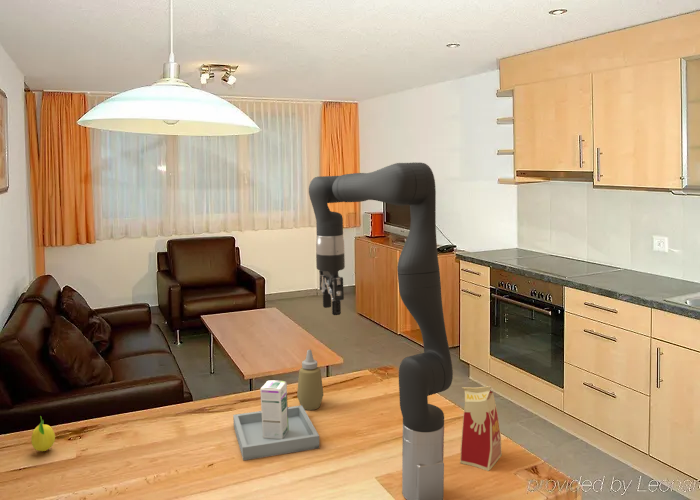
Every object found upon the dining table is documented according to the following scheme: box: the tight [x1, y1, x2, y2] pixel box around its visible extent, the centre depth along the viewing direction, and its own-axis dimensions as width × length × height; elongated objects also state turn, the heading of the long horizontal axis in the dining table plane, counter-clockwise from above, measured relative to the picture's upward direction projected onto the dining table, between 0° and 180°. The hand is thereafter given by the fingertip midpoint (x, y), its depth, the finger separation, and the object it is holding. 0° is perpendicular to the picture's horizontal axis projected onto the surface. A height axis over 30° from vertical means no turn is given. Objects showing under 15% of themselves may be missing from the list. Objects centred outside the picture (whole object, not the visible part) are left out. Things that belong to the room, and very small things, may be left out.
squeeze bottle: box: [296, 349, 324, 411], centre depth 183 cm, size 8×8×18 cm
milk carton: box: [459, 385, 503, 472], centre depth 151 cm, size 9×9×20 cm
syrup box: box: [259, 379, 289, 439], centre depth 164 cm, size 6×6×14 cm
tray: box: [232, 405, 320, 461], centre depth 165 cm, size 20×20×4 cm
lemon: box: [30, 415, 56, 452], centre depth 157 cm, size 7×6×10 cm
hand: (331, 310), depth 163 cm, fingers open, 8 cm apart
